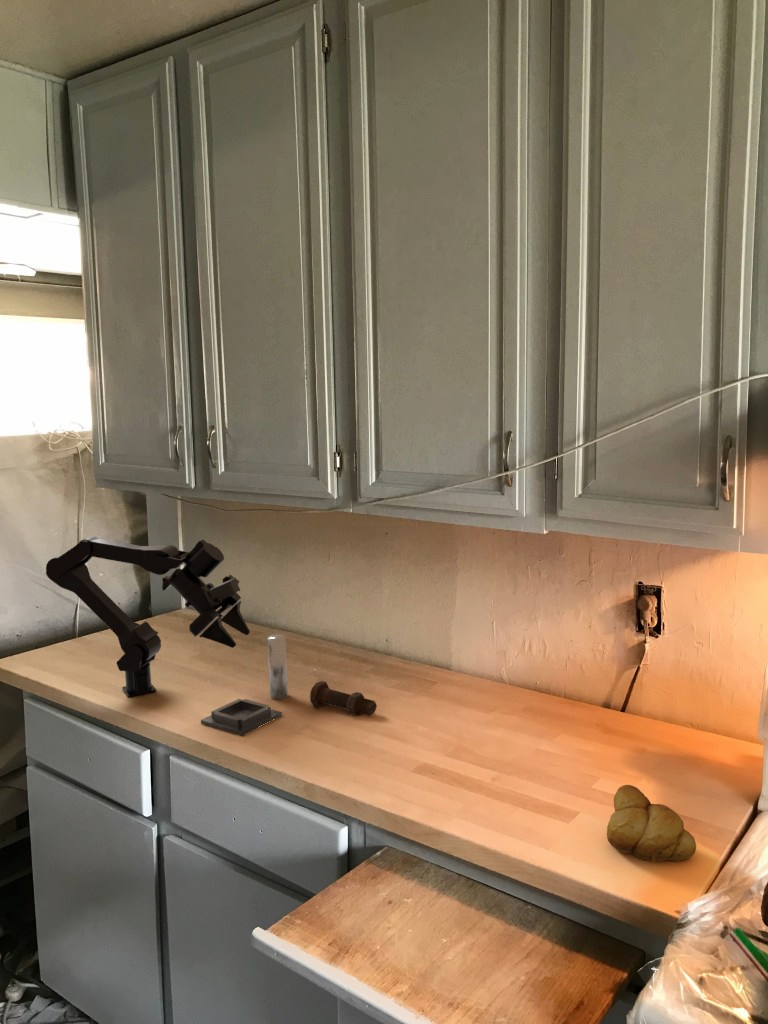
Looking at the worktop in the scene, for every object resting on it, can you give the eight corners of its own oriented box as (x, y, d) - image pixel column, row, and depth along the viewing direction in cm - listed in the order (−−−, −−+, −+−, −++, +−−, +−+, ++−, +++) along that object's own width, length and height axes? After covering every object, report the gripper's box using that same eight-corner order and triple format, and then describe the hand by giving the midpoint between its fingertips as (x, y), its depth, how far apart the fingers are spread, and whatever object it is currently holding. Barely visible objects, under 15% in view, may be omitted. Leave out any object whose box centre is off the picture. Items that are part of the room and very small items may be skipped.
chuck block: (200, 723, 175) (200, 713, 175) (241, 704, 185) (240, 694, 185) (242, 735, 169) (241, 725, 168) (282, 715, 178) (281, 705, 178)
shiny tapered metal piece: (267, 695, 190) (264, 636, 188) (283, 691, 192) (280, 633, 190) (274, 700, 187) (271, 640, 185) (290, 697, 189) (288, 637, 187)
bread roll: (704, 850, 124) (705, 800, 123) (680, 882, 116) (682, 828, 115) (621, 824, 132) (622, 776, 131) (594, 851, 124) (595, 801, 123)
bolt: (371, 726, 176) (314, 710, 184) (382, 708, 180) (326, 693, 188) (363, 708, 173) (306, 693, 181) (375, 690, 176) (318, 676, 184)
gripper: (201, 576, 178) (251, 629, 178) (231, 558, 196) (277, 605, 196) (167, 610, 181) (218, 662, 180) (201, 589, 199) (246, 636, 199)
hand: (241, 639), depth 189 cm, fingers open, 9 cm apart
